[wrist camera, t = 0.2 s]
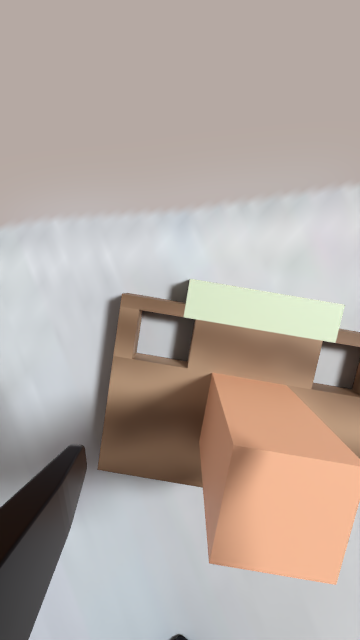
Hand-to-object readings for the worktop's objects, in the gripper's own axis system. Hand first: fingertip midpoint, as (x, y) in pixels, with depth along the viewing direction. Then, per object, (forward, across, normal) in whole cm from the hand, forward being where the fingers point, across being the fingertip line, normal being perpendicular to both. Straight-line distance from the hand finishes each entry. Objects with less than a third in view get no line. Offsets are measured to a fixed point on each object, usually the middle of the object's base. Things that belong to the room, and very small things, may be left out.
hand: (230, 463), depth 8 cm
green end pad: (+16, -4, +1) cm, 17 cm away
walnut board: (+14, -4, +8) cm, 17 cm away
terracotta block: (+12, -3, +8) cm, 15 cm away
